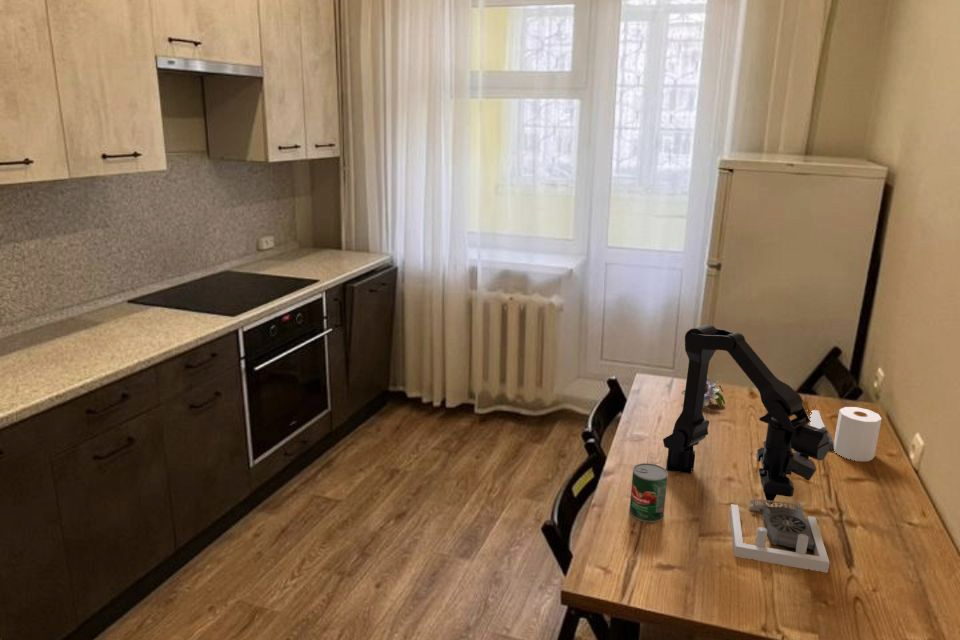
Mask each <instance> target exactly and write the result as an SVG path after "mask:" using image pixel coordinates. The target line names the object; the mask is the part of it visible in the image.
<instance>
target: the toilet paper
mask: <svg viewBox="0 0 960 640" xmlns="http://www.w3.org/2000/svg"><path fill="white" fill-rule="evenodd" d="M837 416H838V417H837V423H836V429H835V434H834V439H833V447H832V449H834V450H833V452H834V451H835V452H834V453H835V454H836V453H837V454H836V455H837V456H839V455H840V456H839V457H841V456H842V457H841V458H843V457H844V458H843V459H846V458H847V459H846V460H850V459H851V460H850V461H854V460H855V461H854V462H871V461H872V460H873V458H875V455H876V450H877V444H878V440H879V434H880V429H881V425H882V417H881V416H880V414H879V413H877V412H875V411H872V410H871V409H868V408H861V407H858V406H844V407H841V408H840V409H839V411H838V415H837Z"/></svg>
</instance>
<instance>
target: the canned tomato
mask: <svg viewBox="0 0 960 640" xmlns="http://www.w3.org/2000/svg"><path fill="white" fill-rule="evenodd" d="M668 474H669V473H668V470H666V468H664V467H663V466H661V465H658V464H654V463H650V462H649V463H647V462H645V463H643V462H642V463H638V464H636V465H634V466H633V468H632V478H631V489H630V500H629V501H630V503H629V509H628V510H629V513H630V515H631V516H632V517H633V518H634V519H636V520H637V521H640V522H643V523H644V522H645V523H657V521H658V522H660V521H662V520H663V519H664V517H665V515H664V513H665V506H666V505H665V504H666V493H667V484H668Z"/></svg>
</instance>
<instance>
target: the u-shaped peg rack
mask: <svg viewBox="0 0 960 640" xmlns="http://www.w3.org/2000/svg"><path fill="white" fill-rule="evenodd" d="M739 509H740V507H739V505H738V504H732V503H731V504H730V509H729V519H730V521H729V522H730V531H731V538H732V549H733V557H734V556H735V558H740V557H741V558H742V559H746V558H748V559H747V560H751V559H754V560H753V561H757V560H758V562H762V563H763V562H764V563H770V564H773V565H774V564H775V565H781V566H787V567H793V568H797V569H802V568H803V569H804V570H808V569H810V571H814V570H815V572H819V571H821V573H826V574H827V573H829V567H830V564H831V563H830V560H829V559H830V558H829V556H828V553H827V550H826V547H825V545H824V544H825V543H824V540H823V538H822V535H821V531H820V528H819V525H818V522H817V519H816V518H817V517H815V516H809V515H808V516H807V517H806V522H807V525H808V528H809V530H810V533H811V536H812V538H813V541H814V549H812V551H813V554H808V553H807V549H808V548H807V545H808V539H809V537H808V536H807V535H805V534H799V535H798V539H797V545H796V548H795V551H790V550H785V549H780V548H773V547H767V546H766V542H767V537H768V532H767V528H766V527H762V526H759V527H757V529H756V537H755V544H748V543H744V540H743V533H742V524H741V517H740V510H739Z"/></svg>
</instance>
